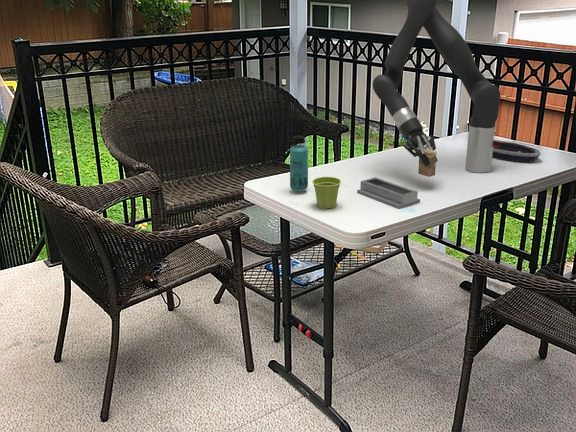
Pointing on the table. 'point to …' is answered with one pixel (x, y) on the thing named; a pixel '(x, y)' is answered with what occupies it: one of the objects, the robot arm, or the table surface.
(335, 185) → the plant pot
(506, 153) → the dish
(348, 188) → the table surface
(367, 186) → the grey rectangular tray
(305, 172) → the beverage bottle
